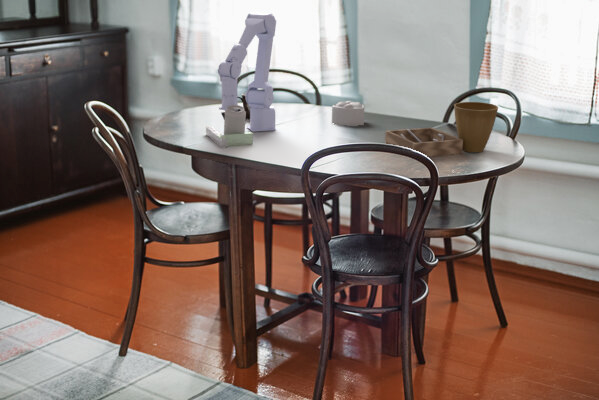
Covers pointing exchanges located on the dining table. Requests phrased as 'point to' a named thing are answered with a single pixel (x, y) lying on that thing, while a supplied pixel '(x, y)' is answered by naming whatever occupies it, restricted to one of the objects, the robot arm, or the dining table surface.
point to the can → (234, 119)
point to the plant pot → (474, 124)
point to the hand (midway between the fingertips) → (230, 131)
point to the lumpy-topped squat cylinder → (348, 113)
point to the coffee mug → (245, 106)
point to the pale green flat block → (229, 138)
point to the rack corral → (426, 141)
